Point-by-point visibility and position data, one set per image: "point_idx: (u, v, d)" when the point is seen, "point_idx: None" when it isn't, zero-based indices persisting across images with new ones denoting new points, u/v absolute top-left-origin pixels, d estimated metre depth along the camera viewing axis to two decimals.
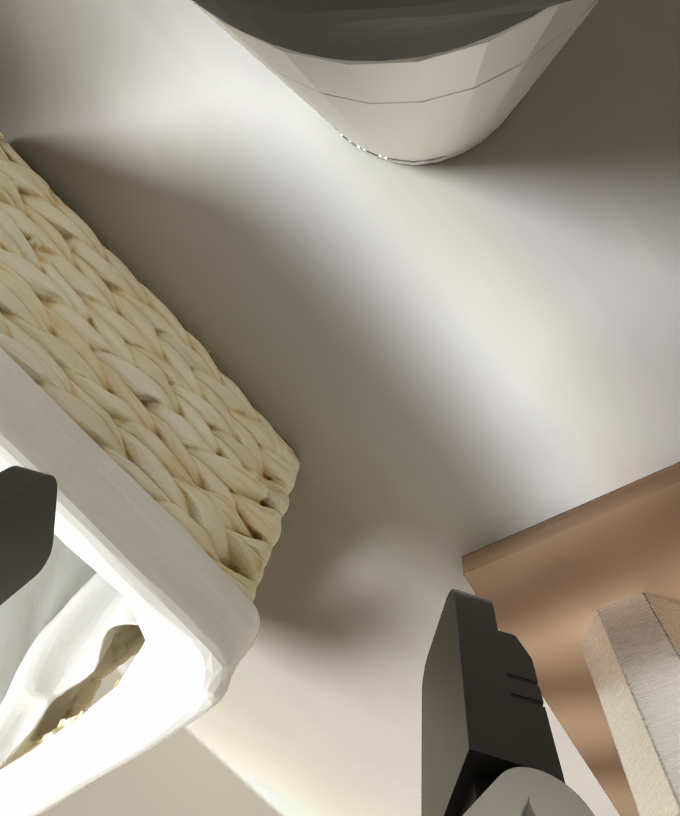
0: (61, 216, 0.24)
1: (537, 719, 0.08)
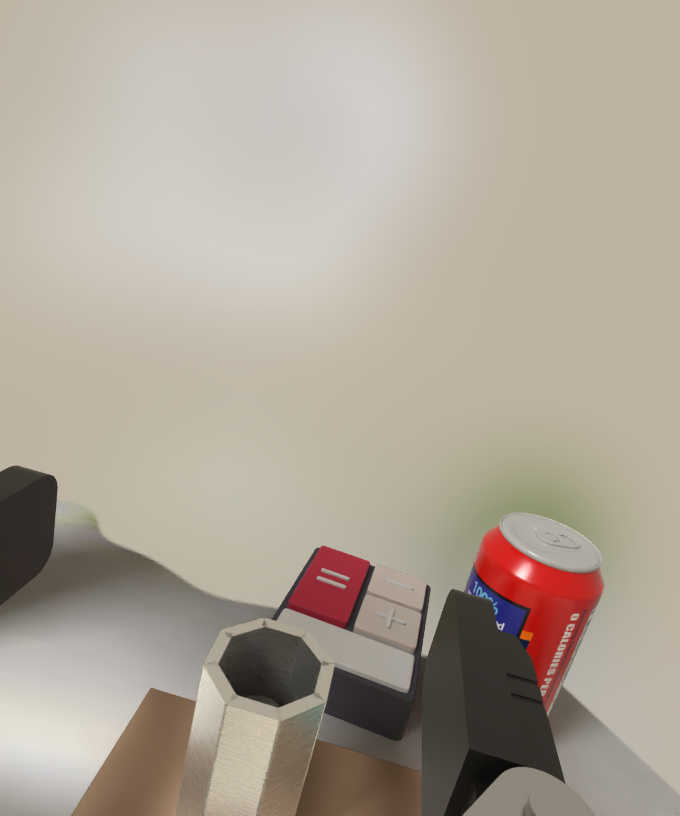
0: None
1: (537, 719, 0.08)
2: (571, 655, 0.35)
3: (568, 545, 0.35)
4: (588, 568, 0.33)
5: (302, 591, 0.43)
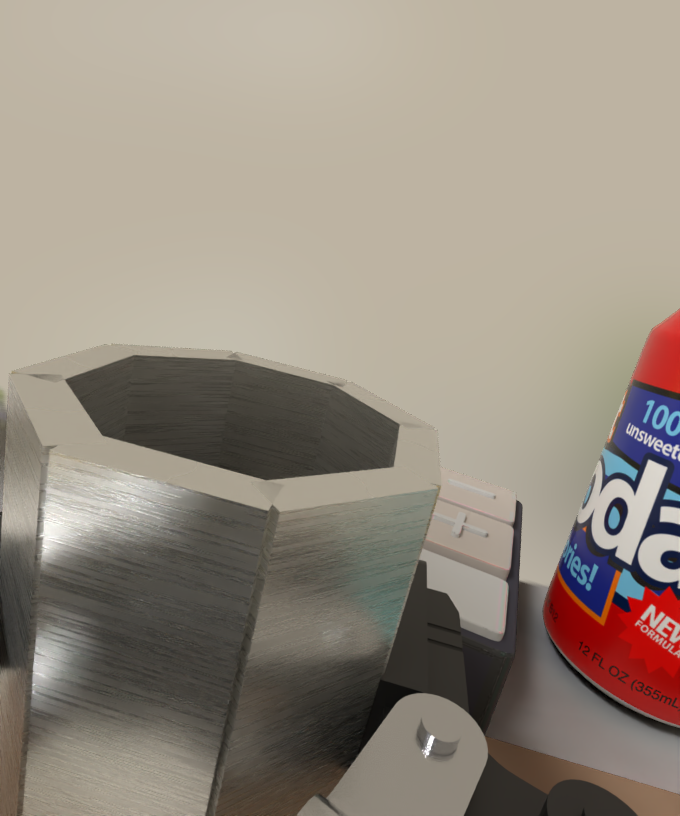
0: None
1: (453, 662, 0.09)
2: None
3: None
4: None
5: None
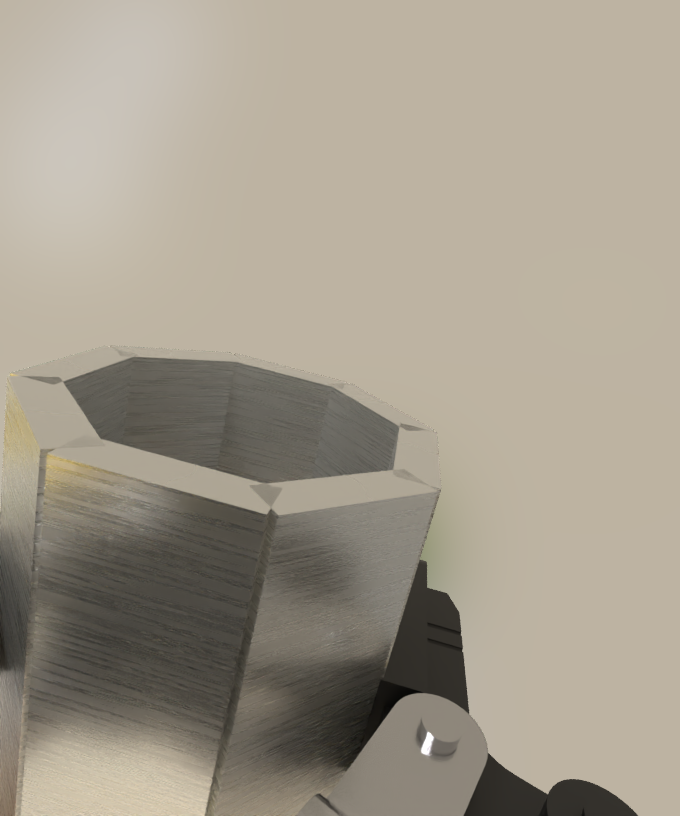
0: None
1: (454, 662, 0.09)
2: None
3: None
4: None
5: None
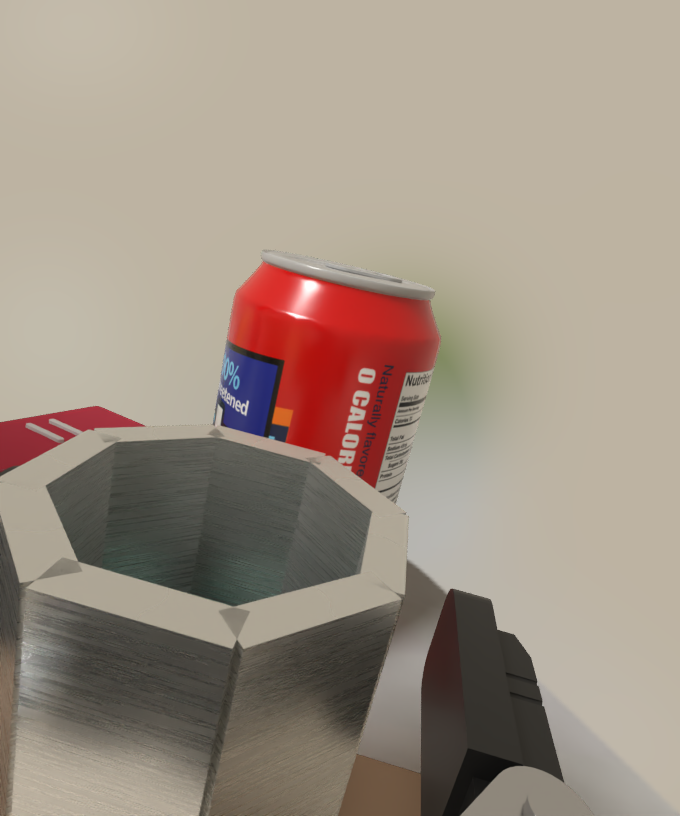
0: None
1: (536, 718, 0.08)
2: (378, 465, 0.19)
3: (376, 274, 0.20)
4: None
5: None
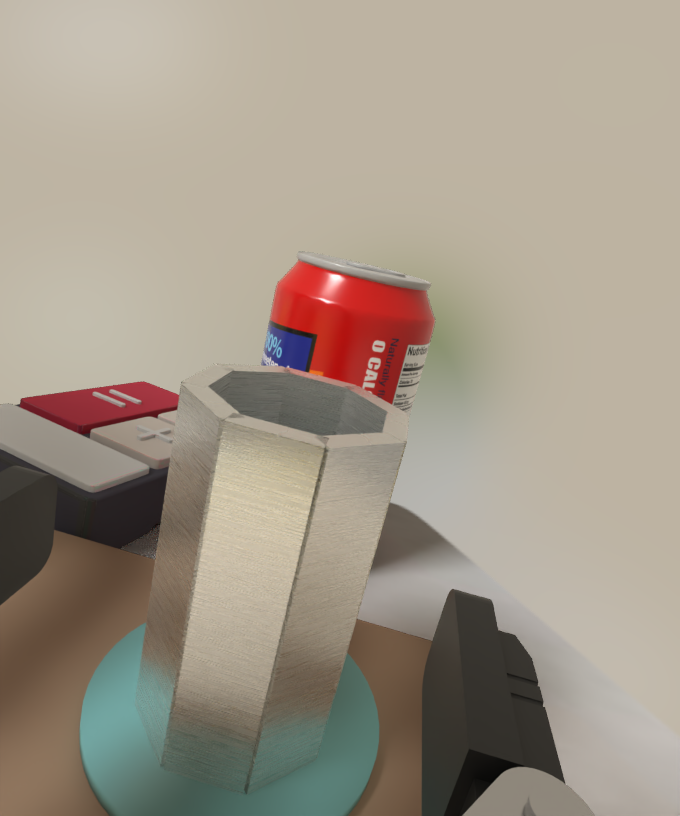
0: None
1: (537, 719, 0.08)
2: None
3: (386, 270, 0.26)
4: (398, 279, 0.24)
5: (54, 397, 0.33)
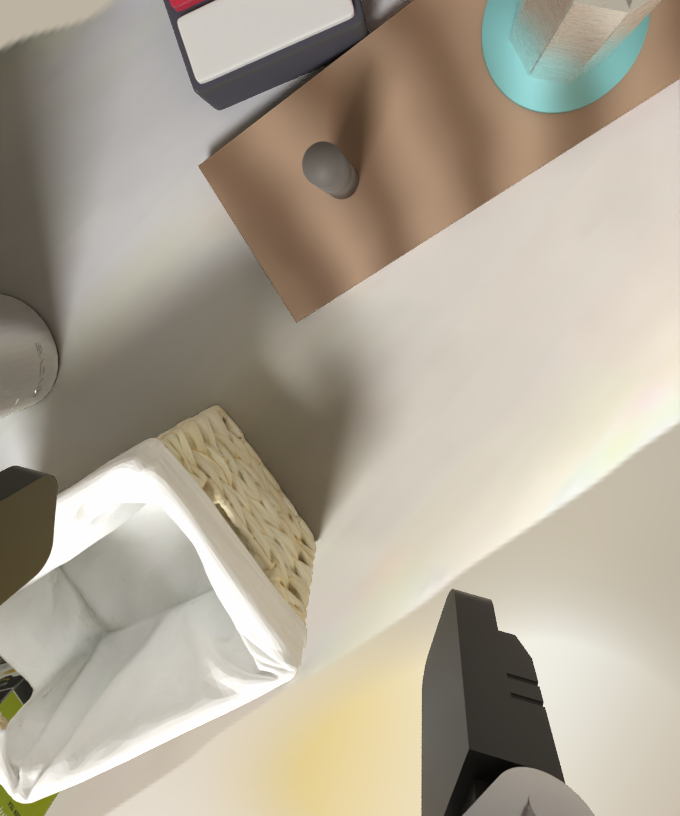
0: None
1: (537, 719, 0.08)
2: None
3: None
4: None
5: None
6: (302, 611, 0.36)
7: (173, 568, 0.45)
